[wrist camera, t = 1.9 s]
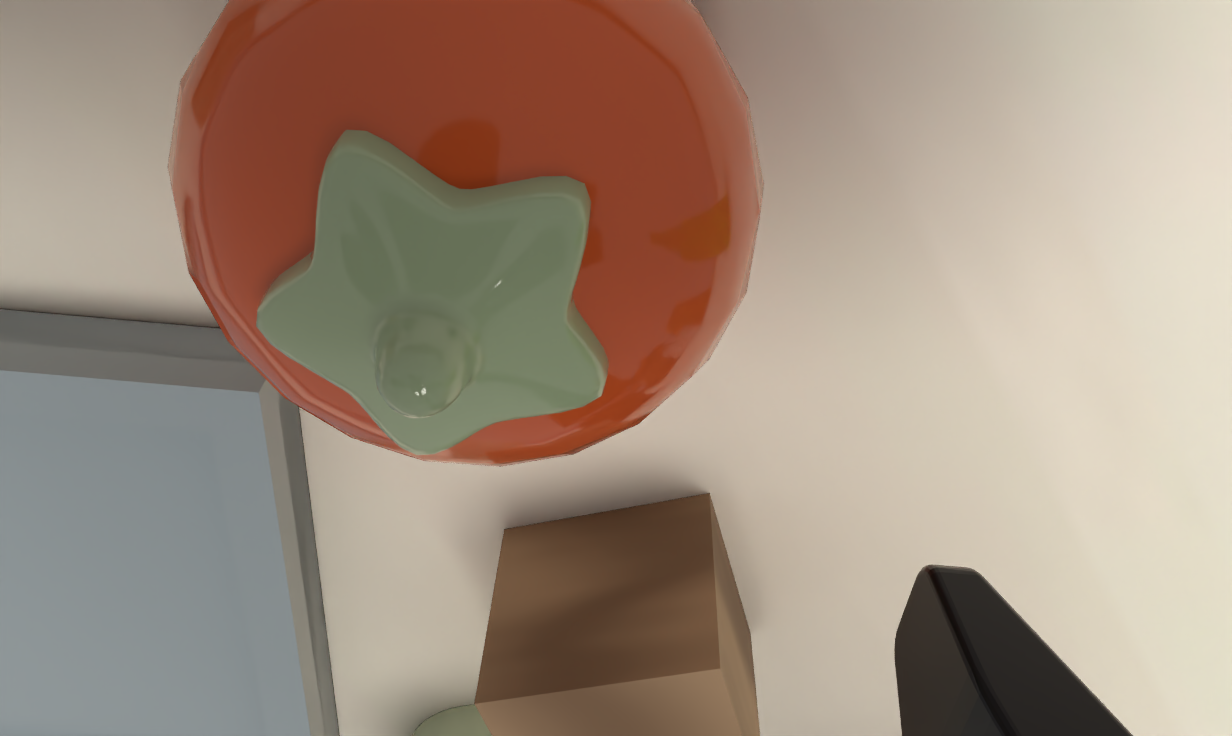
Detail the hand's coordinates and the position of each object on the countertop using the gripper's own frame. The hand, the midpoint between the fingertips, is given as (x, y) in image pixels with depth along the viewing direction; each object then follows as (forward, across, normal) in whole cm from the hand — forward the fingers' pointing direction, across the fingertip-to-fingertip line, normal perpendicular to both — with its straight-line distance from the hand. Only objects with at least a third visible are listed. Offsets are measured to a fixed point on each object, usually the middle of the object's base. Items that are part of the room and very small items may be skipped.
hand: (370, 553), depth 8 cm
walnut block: (+10, -3, +11) cm, 15 cm away
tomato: (+10, 0, 0) cm, 10 cm away
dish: (+10, +11, +12) cm, 19 cm away
